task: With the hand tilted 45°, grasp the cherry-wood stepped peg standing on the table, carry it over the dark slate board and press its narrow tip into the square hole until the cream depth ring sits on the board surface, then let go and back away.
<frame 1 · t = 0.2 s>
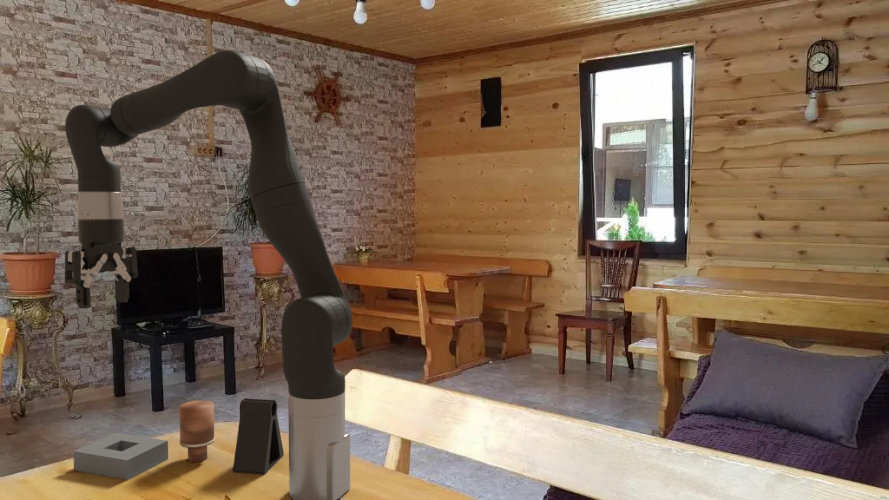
hand: (104, 304, 127), 29 cm above the table, tool pointing down, fingers open, 8 cm apart
phone stand: (259, 464, 127), on the table
peg: (197, 458, 129), on the table
board: (122, 464, 126), on the table
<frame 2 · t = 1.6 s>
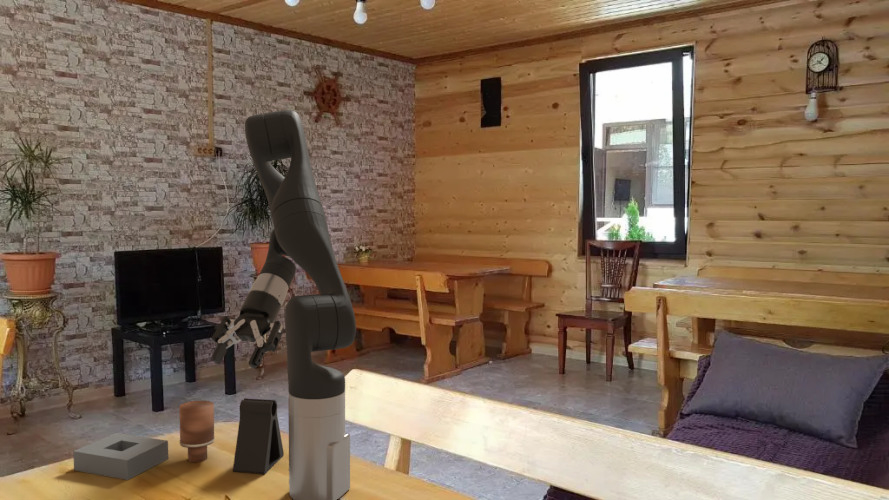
hand: (233, 364, 138), 15 cm above the table, tool tilted 45°, fingers open, 8 cm apart
nothing on the table moved.
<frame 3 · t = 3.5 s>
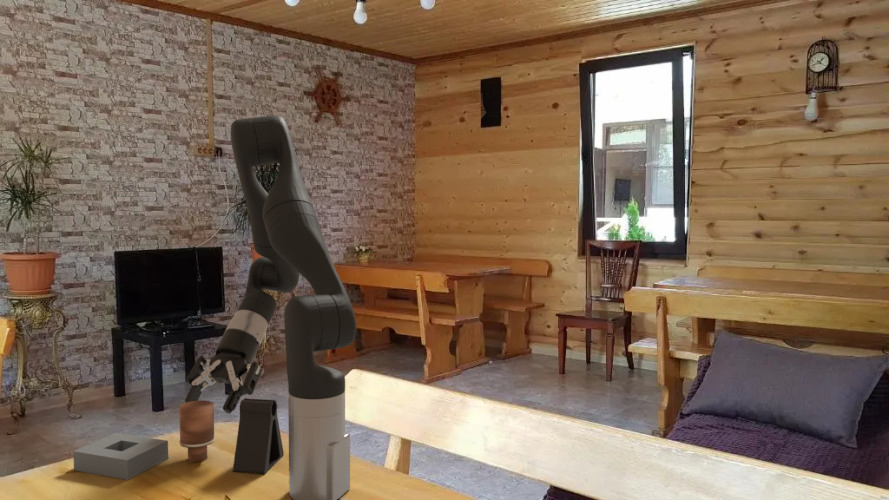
hand: (207, 408, 131), 9 cm above the table, tool tilted 45°, fingers open, 8 cm apart
nothing on the table moved.
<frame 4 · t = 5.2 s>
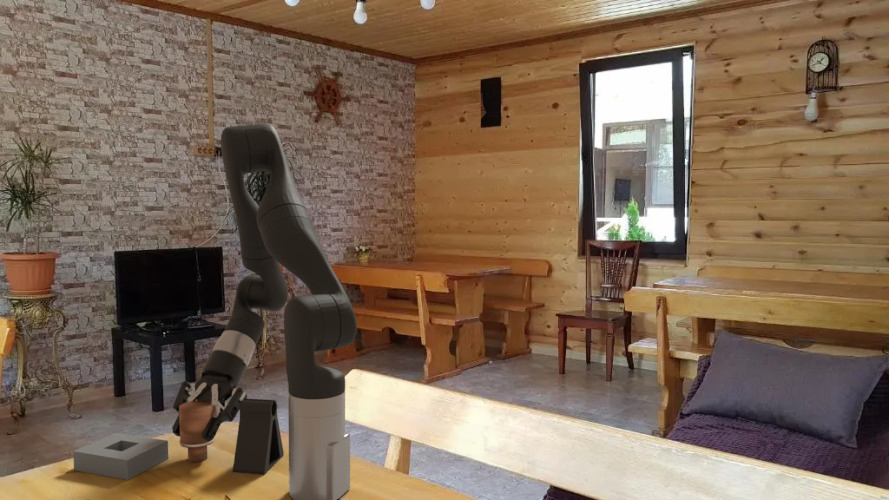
hand: (191, 436, 127), 5 cm above the table, tool tilted 45°, fingers closed on peg, 6 cm apart
peg: (197, 458, 129), on the table, touching gripper
everything else where it was.
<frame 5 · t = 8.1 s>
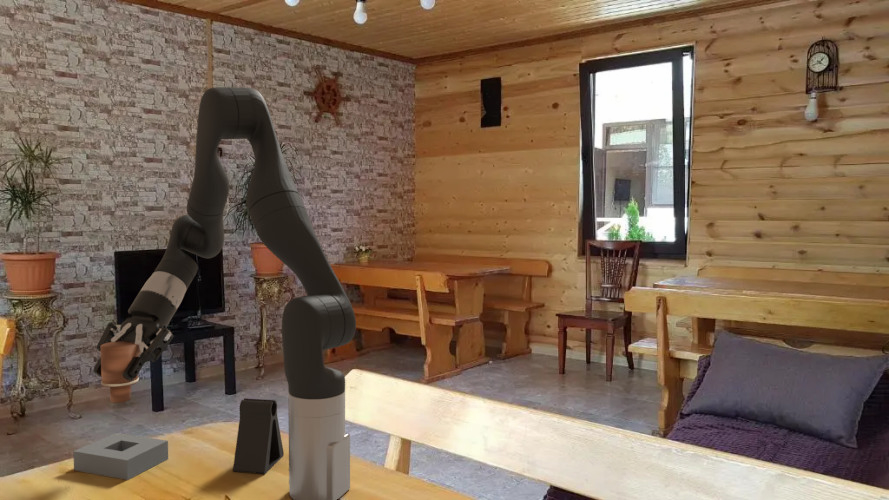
hand: (112, 376, 123), 17 cm above the table, tool tilted 45°, fingers closed on peg, 6 cm apart
peg: (120, 399, 125), point 12 cm above the table, touching gripper
everything else where it was.
when the fingers open (5 cm above the table, at t = 11.1 s): peg stays where it is, resting on board.
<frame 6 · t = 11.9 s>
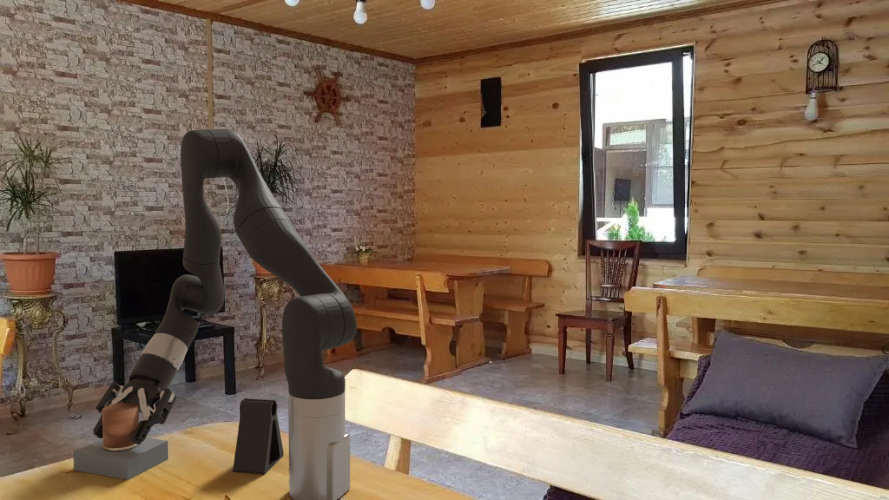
hand: (116, 439, 124), 5 cm above the table, tool tilted 45°, fingers open, 8 cm apart
peg: (122, 462, 126), resting on board
everything else where it was.
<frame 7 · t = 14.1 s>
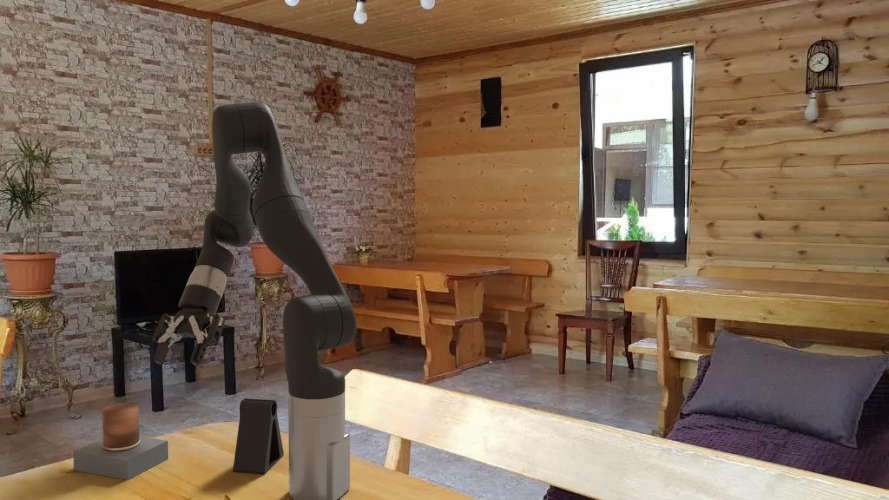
hand: (175, 363, 136), 16 cm above the table, tool tilted 40°, fingers open, 8 cm apart
nothing on the table moved.
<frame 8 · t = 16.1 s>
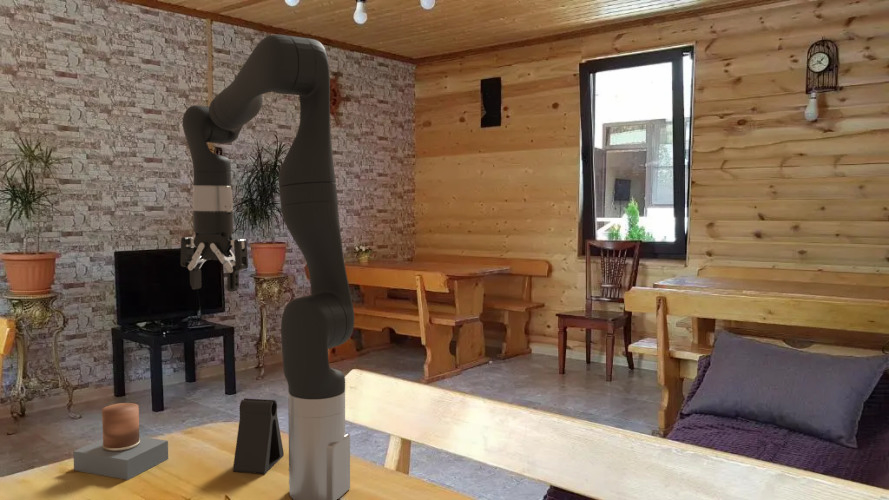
hand: (214, 289, 138), 30 cm above the table, tool pointing down, fingers open, 8 cm apart
nothing on the table moved.
at the end: peg 0.1 cm off-centre on the board, point 0.3 cm above the board's base; peg tilted 0°; the gripper is holding nothing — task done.
